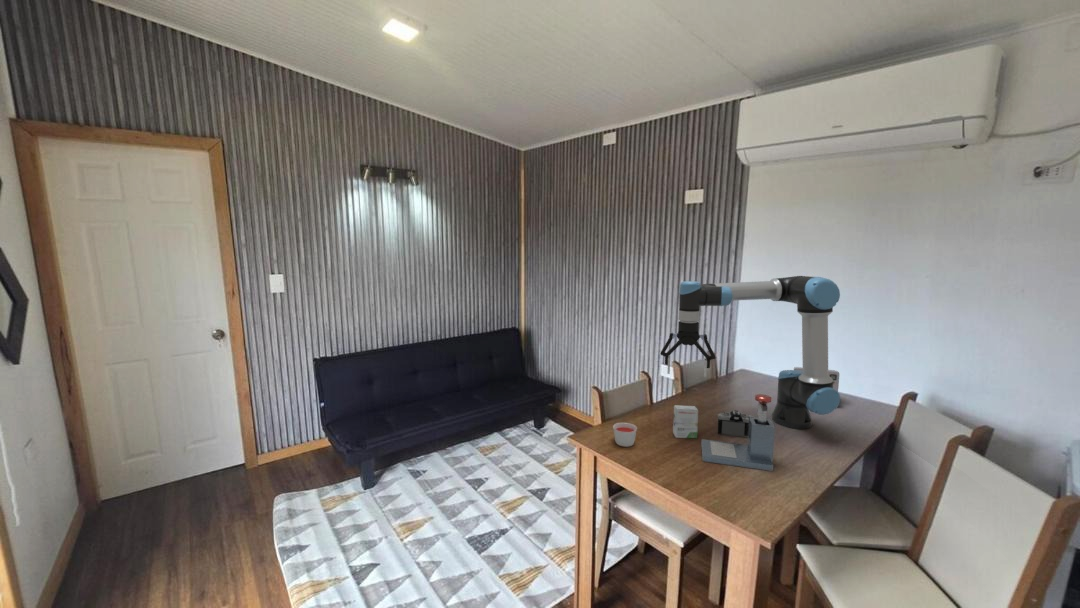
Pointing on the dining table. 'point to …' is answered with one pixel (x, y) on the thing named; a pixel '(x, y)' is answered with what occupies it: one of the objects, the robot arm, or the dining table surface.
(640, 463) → the dining table surface
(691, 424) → the ink box
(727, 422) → the camera
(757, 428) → the press
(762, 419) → the plunger
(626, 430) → the candle
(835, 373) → the instant camera
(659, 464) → the dining table surface
